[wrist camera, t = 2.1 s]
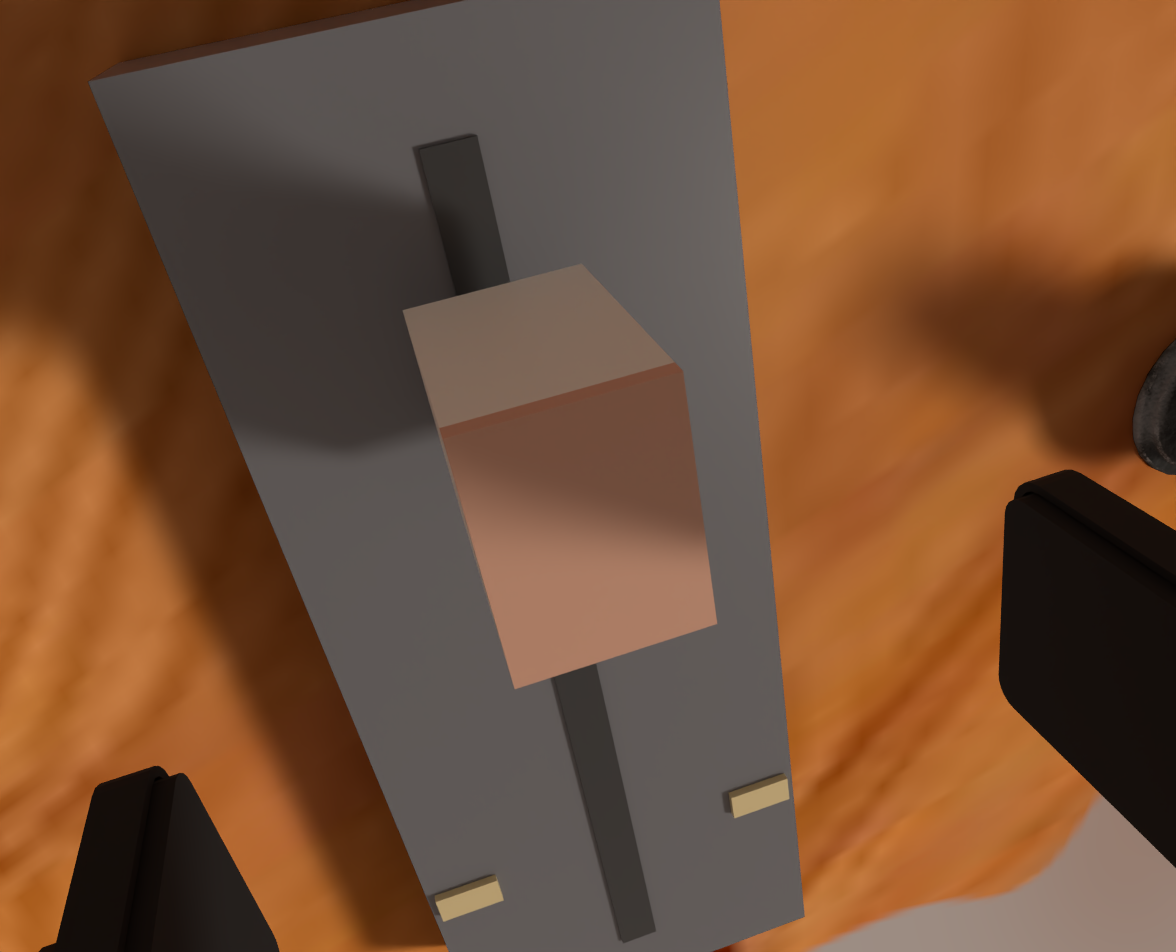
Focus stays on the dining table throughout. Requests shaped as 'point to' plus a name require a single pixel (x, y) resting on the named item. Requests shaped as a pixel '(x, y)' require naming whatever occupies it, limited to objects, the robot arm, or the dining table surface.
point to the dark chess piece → (1158, 415)
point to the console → (415, 455)
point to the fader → (567, 469)
